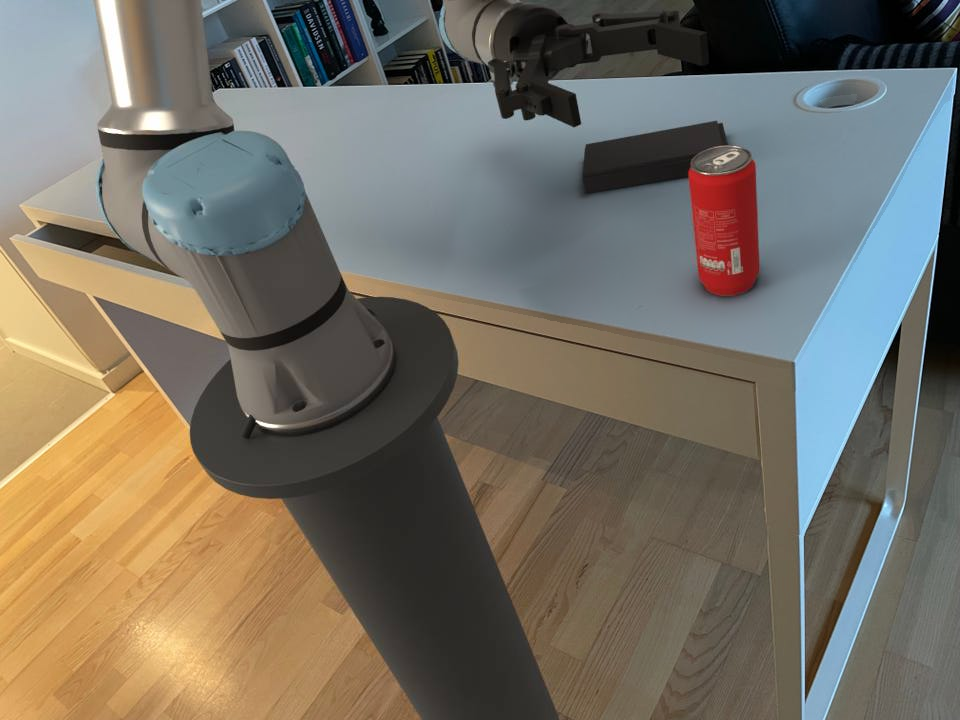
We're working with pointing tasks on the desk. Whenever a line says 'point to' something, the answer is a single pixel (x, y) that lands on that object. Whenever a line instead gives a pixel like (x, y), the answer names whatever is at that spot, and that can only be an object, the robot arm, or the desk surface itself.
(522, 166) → the desk surface
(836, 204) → the desk surface
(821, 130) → the desk surface
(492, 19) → the robot arm
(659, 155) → the black flat box
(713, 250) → the beverage can
